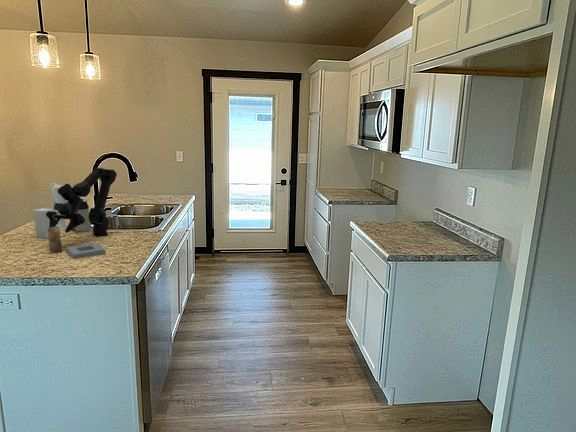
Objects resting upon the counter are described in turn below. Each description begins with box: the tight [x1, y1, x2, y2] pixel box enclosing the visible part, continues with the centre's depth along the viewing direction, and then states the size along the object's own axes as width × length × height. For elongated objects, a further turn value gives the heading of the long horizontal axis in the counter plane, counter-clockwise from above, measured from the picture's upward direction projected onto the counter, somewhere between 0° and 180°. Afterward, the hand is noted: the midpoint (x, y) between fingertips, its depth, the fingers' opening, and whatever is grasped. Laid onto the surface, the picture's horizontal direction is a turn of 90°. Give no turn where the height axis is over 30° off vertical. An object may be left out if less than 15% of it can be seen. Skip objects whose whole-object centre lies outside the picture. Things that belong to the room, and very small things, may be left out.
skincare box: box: [32, 207, 56, 239], centre depth 223 cm, size 8×7×16 cm
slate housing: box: [65, 242, 106, 260], centre depth 198 cm, size 14×14×2 cm
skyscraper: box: [49, 183, 68, 232], centre depth 238 cm, size 8×8×28 cm
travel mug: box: [74, 198, 91, 232], centre depth 239 cm, size 8×8×18 cm
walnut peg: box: [48, 227, 63, 254], centre depth 198 cm, size 5×5×12 cm
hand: (57, 231), depth 199 cm, fingers open, 9 cm apart
